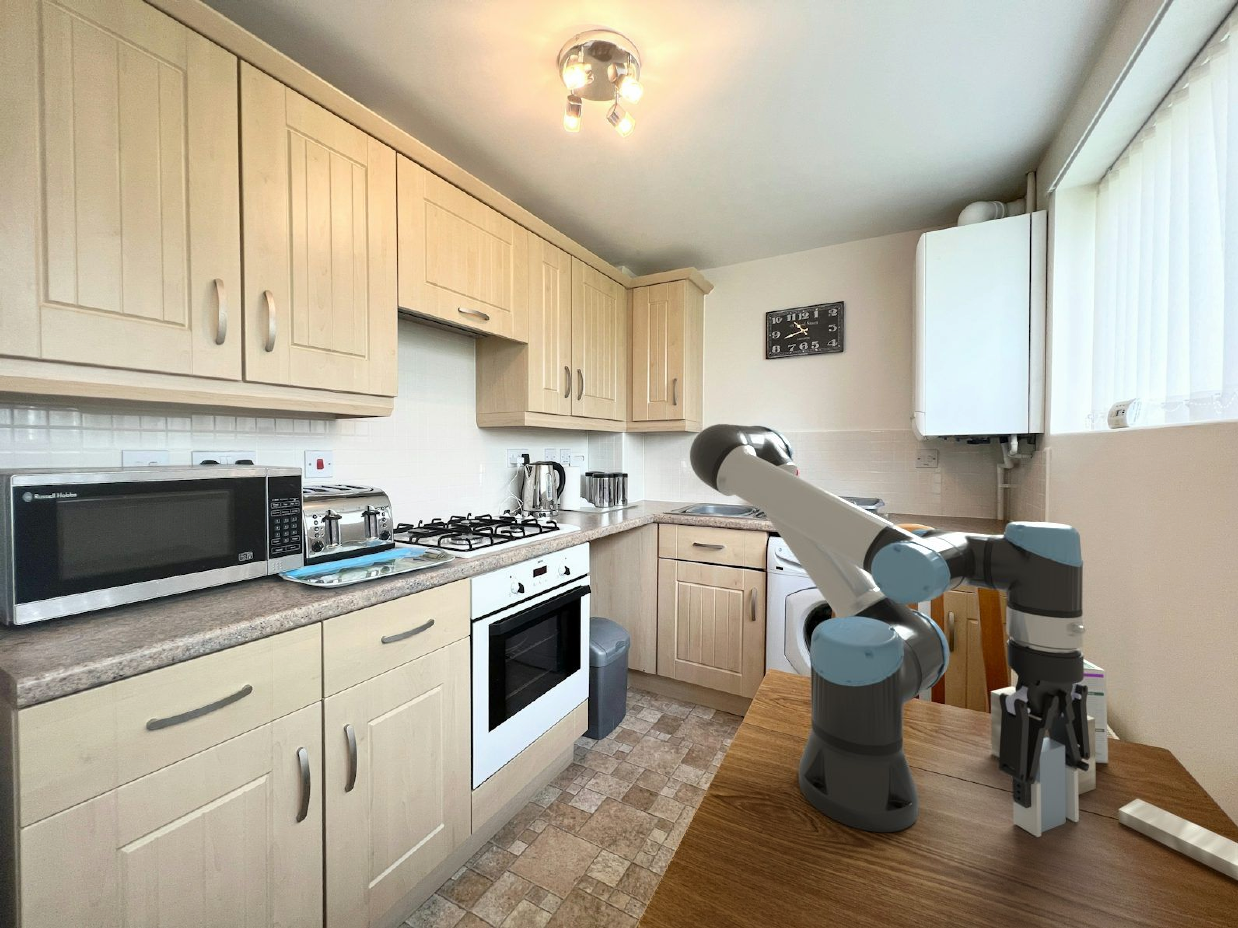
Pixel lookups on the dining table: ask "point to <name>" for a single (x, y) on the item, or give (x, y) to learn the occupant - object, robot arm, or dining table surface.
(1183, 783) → the dining table surface
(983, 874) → the dining table surface
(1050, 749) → the domino
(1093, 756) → the domino
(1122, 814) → the domino
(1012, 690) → the domino
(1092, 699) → the syrup box
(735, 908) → the dining table surface
